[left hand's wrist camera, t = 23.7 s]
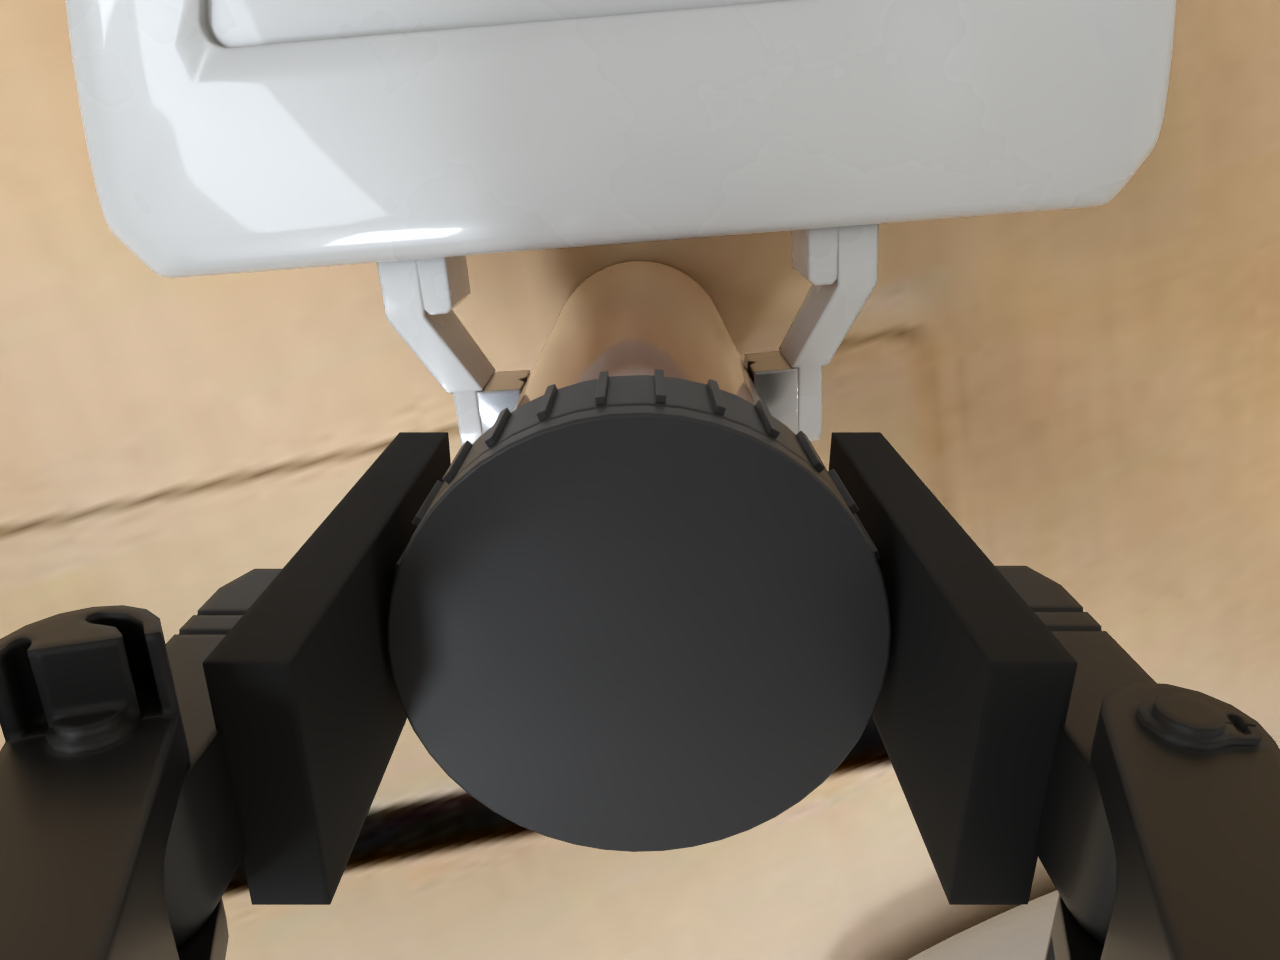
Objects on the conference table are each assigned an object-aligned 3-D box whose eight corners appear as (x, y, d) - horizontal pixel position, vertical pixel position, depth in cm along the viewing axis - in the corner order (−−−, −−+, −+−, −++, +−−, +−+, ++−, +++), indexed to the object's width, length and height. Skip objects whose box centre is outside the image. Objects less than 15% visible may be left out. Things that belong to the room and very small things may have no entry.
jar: (528, 388, 26) (380, 700, 11) (595, 230, 25) (527, 350, 10) (679, 455, 27) (729, 829, 12) (754, 305, 25) (918, 524, 10)
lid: (359, 681, 12) (315, 763, 11) (511, 289, 10) (486, 314, 9) (740, 818, 13) (754, 914, 11) (946, 480, 11) (999, 536, 9)
